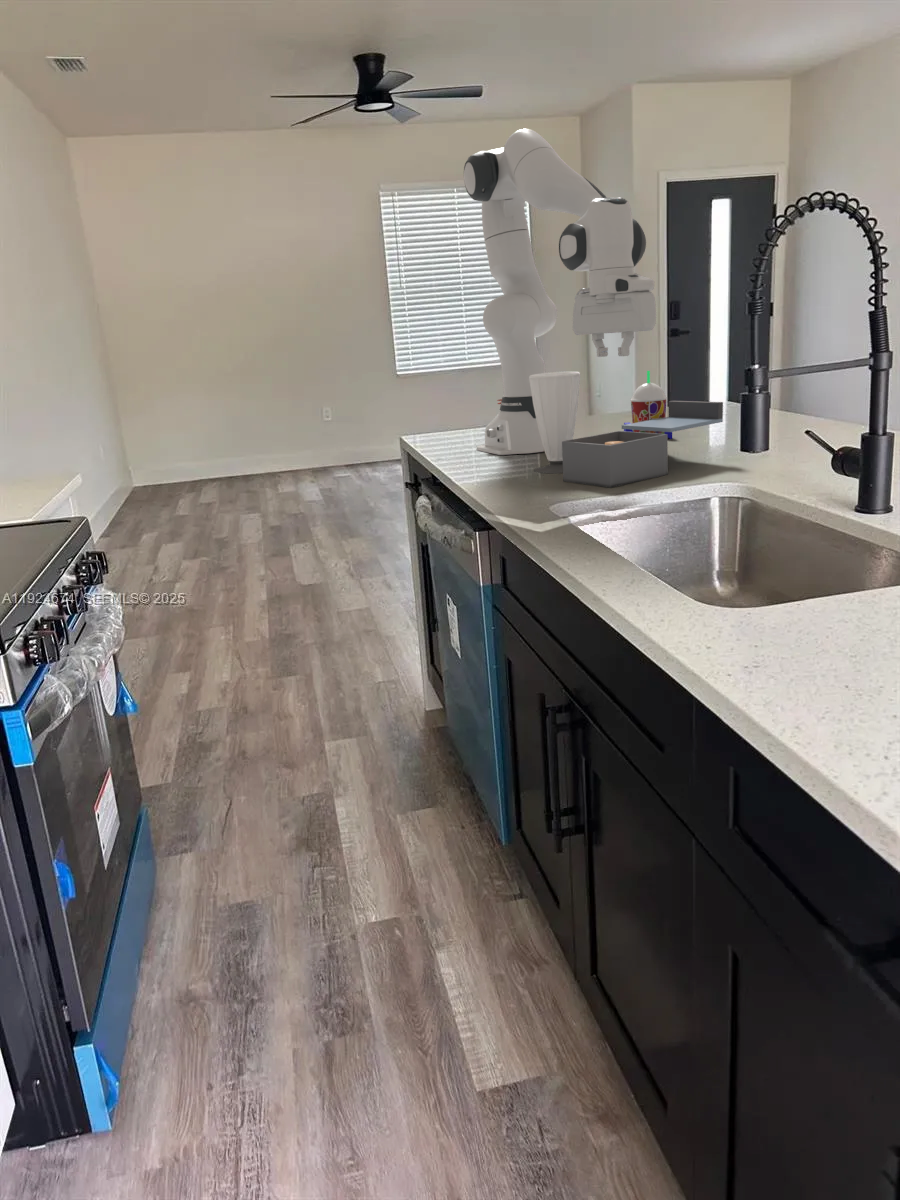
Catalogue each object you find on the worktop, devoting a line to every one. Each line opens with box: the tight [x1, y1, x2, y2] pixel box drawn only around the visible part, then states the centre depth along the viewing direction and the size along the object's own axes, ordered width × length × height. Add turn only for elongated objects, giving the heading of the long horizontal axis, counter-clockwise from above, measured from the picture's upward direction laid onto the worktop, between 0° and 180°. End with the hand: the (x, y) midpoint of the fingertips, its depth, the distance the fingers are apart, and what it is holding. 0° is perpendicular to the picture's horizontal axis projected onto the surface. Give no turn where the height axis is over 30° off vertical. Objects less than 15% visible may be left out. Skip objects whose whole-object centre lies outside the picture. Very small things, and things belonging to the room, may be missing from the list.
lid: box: [621, 400, 724, 433], centre depth 191 cm, size 14×17×4 cm
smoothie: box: [630, 370, 668, 434], centre depth 206 cm, size 8×8×20 cm
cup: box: [529, 371, 581, 475], centre depth 197 cm, size 12×12×22 cm
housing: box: [562, 430, 669, 489], centre depth 184 cm, size 14×17×8 cm
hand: (612, 356), depth 177 cm, fingers open, 5 cm apart
